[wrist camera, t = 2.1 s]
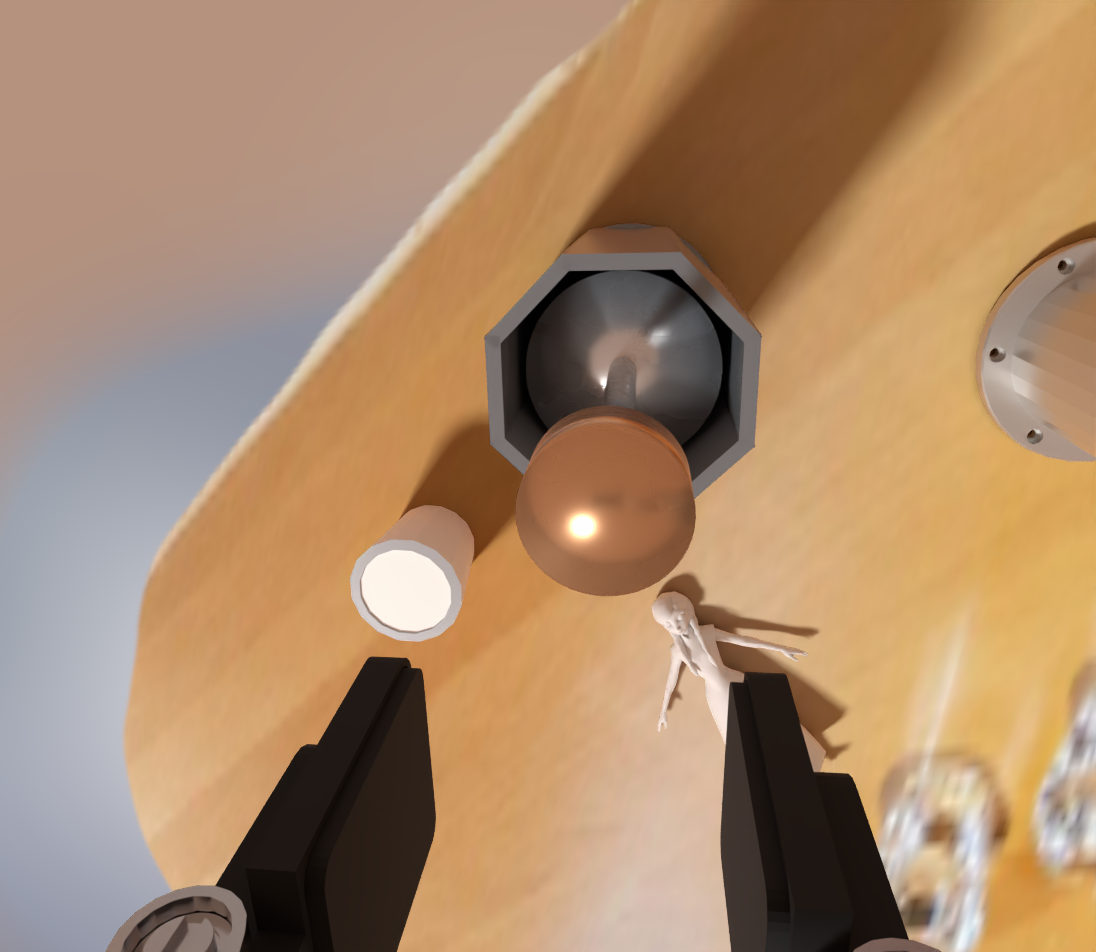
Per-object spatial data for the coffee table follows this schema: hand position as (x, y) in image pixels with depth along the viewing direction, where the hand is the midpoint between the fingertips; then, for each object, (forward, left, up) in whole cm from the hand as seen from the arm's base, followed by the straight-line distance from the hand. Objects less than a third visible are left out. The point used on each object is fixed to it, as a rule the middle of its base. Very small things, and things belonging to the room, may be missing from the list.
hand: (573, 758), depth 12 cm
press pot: (0, +2, -39) cm, 39 cm away
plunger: (0, 0, -26) cm, 26 cm away
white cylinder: (+13, +15, -40) cm, 44 cm away
